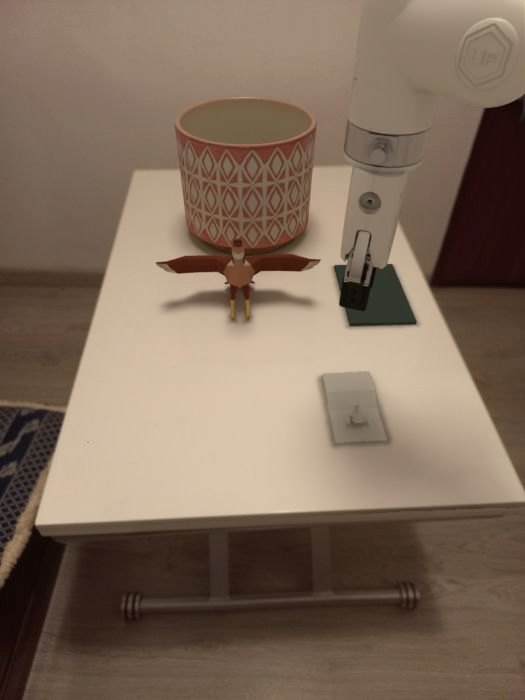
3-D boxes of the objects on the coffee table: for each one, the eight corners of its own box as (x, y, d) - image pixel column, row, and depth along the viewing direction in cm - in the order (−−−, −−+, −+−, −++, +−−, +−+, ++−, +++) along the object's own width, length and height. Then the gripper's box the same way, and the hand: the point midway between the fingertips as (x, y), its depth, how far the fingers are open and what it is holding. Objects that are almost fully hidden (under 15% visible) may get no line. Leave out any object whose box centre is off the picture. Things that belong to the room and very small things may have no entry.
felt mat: (391, 266, 95) (392, 263, 95) (416, 324, 83) (417, 321, 82) (334, 267, 95) (334, 264, 95) (349, 325, 82) (350, 323, 82)
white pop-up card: (367, 376, 74) (370, 365, 72) (387, 440, 65) (391, 429, 63) (321, 379, 73) (323, 368, 72) (335, 442, 65) (337, 432, 63)
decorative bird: (152, 334, 75) (143, 240, 69) (169, 303, 92) (162, 225, 86) (326, 330, 76) (330, 237, 70) (310, 300, 93) (313, 223, 87)
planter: (297, 269, 94) (306, 152, 78) (170, 253, 98) (152, 138, 82) (314, 206, 113) (324, 101, 97) (207, 194, 117) (199, 91, 101)
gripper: (417, 185, 37) (376, 349, 50) (433, 116, 48) (395, 264, 61) (325, 171, 38) (308, 333, 51) (361, 108, 50) (339, 254, 63)
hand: (356, 294), depth 56 cm, fingers open, 3 cm apart
